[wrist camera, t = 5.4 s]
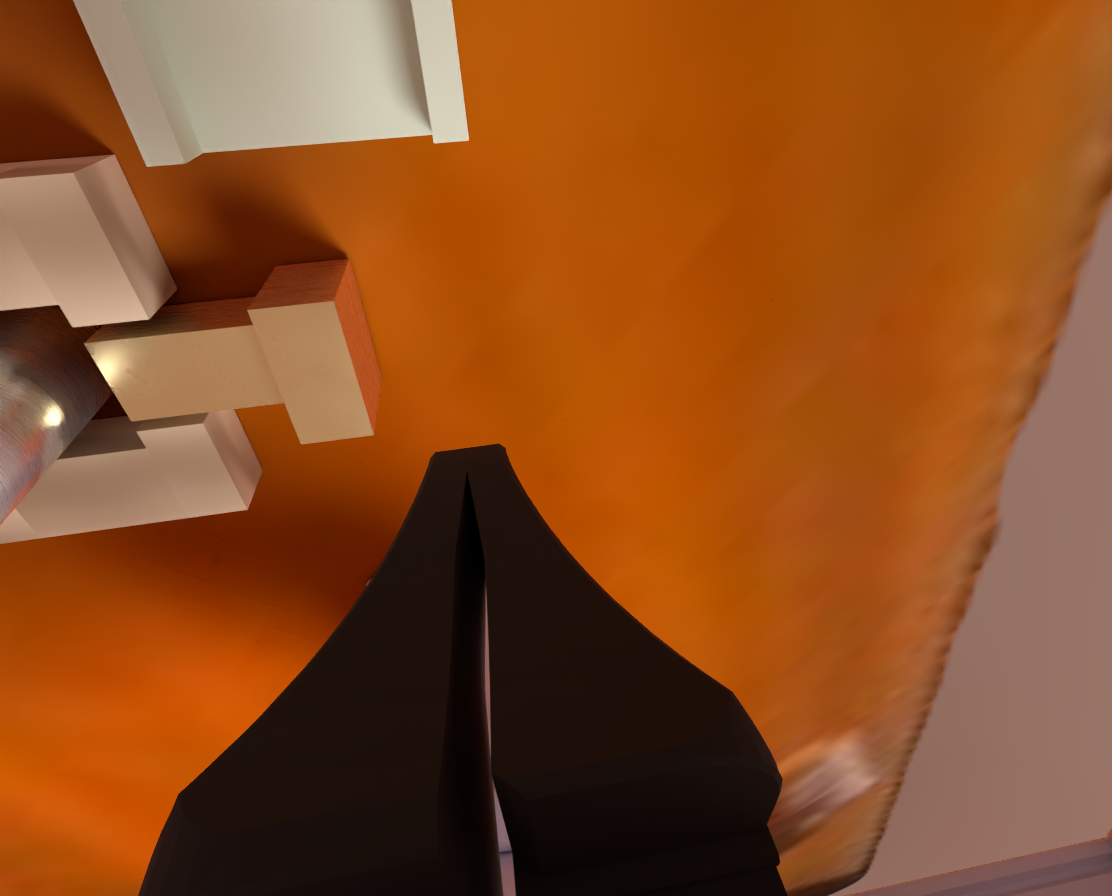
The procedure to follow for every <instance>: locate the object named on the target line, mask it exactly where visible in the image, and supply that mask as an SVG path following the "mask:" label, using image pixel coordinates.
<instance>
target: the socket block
mask: <svg viewBox="0 0 1112 896" xmlns="http://www.w3.org/2000/svg"><path fill="white" fill-rule="evenodd" d="M176 290H177V287H176V284H175V282H174V280H173V278H172V276H171V274H170V272H169V269H168V267H167V265H166V263H165V261H164V259H163V257H162V254H161V252H160V250H159V248H158V246H157V244H156V242H155V240H154V237H153V235H152V233H151V231H150V229H149V227H148V225H147V222H146V220H145V218H144V216H143V214H142V212H141V210H140V208H139V205H138V203H137V201H136V199H135V197H134V195H133V193H132V190H131V188H130V186H129V184H128V182H127V180H126V178H125V176H124V173H123V171H122V169H121V167H120V165H119V163H118V161H117V158H116V156H115V154H114V155H102V156H89V157H77V158H64V159H51V160H39V161H26V162H13V163H1V164H0V311H2V310H12V309H21V308H31V307H41V306H51V305H59V306H60V308H61V309H62V311H63V313H64V314H65V316H66V318H67V319H68V321H69V323H70V324H71V326H72V327H82V326H91V325H101V324H110V323H120V322H129V321H139V320H148V319H150V318H151V317H152V316H153V315H154V314H155V313H156V312H157V310H158V309H159V308H160V307H161V306H162V305H163V304H164V303H165V302H166V301H167V300H168V299H169V298H170V297H171V296H172V295H173V293H174V292H175V291H176ZM262 471H263V470H262V468H261V466H260V464H259V462H258V459H257V457H256V455H255V453H254V451H253V449H252V447H251V444H250V442H249V440H248V438H247V436H246V434H245V432H244V430H243V427H242V425H241V423H240V421H239V419H238V417H237V415H236V412H235V410H234V409H231V410H222V411H214V412H206V413H198V414H190V415H181V416H173V417H165V418H157V419H148V420H140V421H132V422H131V420H130V419H129V417H128V416H122V417H114V418H106V419H97V420H90V421H89V422H88V423H87V424H86V425H85V427H84V428H83V429H82V430H81V431H80V433H79V434H78V435H77V436H76V437H75V438H74V440H73V441H72V442H71V443H70V444H69V445H68V447H67V448H66V449H65V450H64V451H63V452H62V454H61V455H60V456H59V457H58V458H57V459H56V461H55V462H54V463H53V464H52V465H51V467H50V468H49V469H48V470H47V471H46V472H45V474H44V475H43V476H42V477H41V478H40V479H39V481H38V482H37V483H36V484H35V485H34V486H33V488H32V489H31V490H30V491H29V492H28V493H27V495H26V496H25V497H24V498H23V499H22V501H21V502H20V503H19V504H18V505H17V506H16V508H15V509H14V510H13V511H12V512H11V513H10V515H9V516H8V517H7V518H6V519H5V520H4V522H3V523H2V524H1V525H0V544H3V543H11V542H18V541H25V540H32V539H40V538H47V537H54V536H61V535H69V534H76V533H83V532H90V531H98V530H105V529H112V528H119V527H127V526H134V525H141V524H148V523H156V522H163V521H170V520H177V519H185V518H192V517H199V516H206V515H213V514H221V513H228V512H235V511H242V510H248V507H249V505H250V502H251V500H252V497H253V495H254V492H255V489H256V487H257V484H258V482H259V479H260V476H261V474H262Z"/></svg>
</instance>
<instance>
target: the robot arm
mask: <svg viewBox="0 0 1112 896" xmlns="http://www.w3.org/2000/svg"><path fill="white" fill-rule="evenodd" d="M781 786H782V777H781V775H780V773H779V771H778V768H777V765H776V762H775V760H774V758H773V756H772V754H771V752H770V750H769V748H768V747H767V745H766V743H765V741H764V740H763V738H762V736H761V734H760V733H759V731H758V729H757V728H756V726H755V725H754V723H753V721H752V720H751V718H750V717H749V715H748V714H747V712H746V711H745V709H744V708H743V706H742V705H741V703H740V702H739V700H738V699H737V698H736V696H735V695H734V694H733V692H732V691H730V690H729V689H728V688H726V687H725V686H723V685H722V684H720V683H719V682H717V681H716V680H714V679H713V678H712V677H710V676H709V675H707V674H706V673H704V672H703V671H701V670H700V669H699V668H697V667H696V666H695V665H693V664H692V663H690V662H689V661H688V660H686V659H685V658H684V657H682V656H681V655H679V654H678V653H677V652H676V651H674V650H673V649H672V648H671V647H669V646H668V645H667V644H665V643H664V642H663V641H662V640H660V639H659V638H658V637H657V636H655V635H654V634H653V633H651V632H650V631H649V630H648V629H647V628H646V627H645V626H643V625H642V624H641V623H640V622H639V621H638V620H637V619H636V618H634V617H633V616H632V615H631V614H630V613H629V612H628V611H626V610H625V609H624V608H623V607H622V606H621V605H620V604H619V603H617V602H616V601H615V600H614V599H613V598H612V597H611V596H610V595H609V594H608V593H607V592H606V591H605V590H604V589H603V588H602V587H601V586H600V585H599V584H598V583H597V582H596V581H595V580H594V579H593V578H592V577H591V576H590V575H589V574H588V573H587V572H586V571H585V570H584V568H583V567H582V566H581V565H580V564H579V563H578V562H577V561H576V560H575V558H574V557H573V556H572V555H571V554H570V553H569V551H568V550H567V549H566V548H565V547H564V545H563V544H562V543H561V542H560V540H559V539H558V538H557V536H556V535H555V534H554V533H553V531H552V530H551V529H550V527H549V526H548V525H547V523H546V522H545V521H544V519H543V518H542V516H541V515H540V513H539V512H538V510H537V509H536V507H535V506H534V504H533V503H532V501H531V500H530V498H529V497H528V495H527V493H526V492H525V490H524V489H523V487H522V485H521V483H520V481H519V480H518V478H517V476H516V474H515V472H514V470H513V468H512V466H511V463H510V461H509V458H508V456H507V453H506V449H505V447H503V446H502V445H500V444H493V445H486V446H479V447H471V448H464V449H457V450H449V451H442V452H435V453H434V455H433V456H432V457H431V458H430V461H429V465H428V468H427V470H426V473H425V476H424V478H423V481H422V483H421V486H420V488H419V491H418V493H417V495H416V497H415V500H414V502H413V504H412V506H411V508H410V510H409V512H408V514H407V516H406V518H405V520H404V522H403V524H402V526H401V529H400V530H399V532H398V534H397V536H396V538H395V540H394V541H393V543H392V545H391V547H390V548H389V550H388V552H387V554H386V555H385V557H384V559H383V561H382V562H381V564H380V566H379V567H378V569H377V571H376V572H375V574H374V575H373V577H372V579H370V580H369V581H368V582H367V584H366V588H365V589H364V591H363V592H362V594H361V595H360V597H359V598H358V600H357V601H356V602H355V604H354V605H353V607H352V608H351V610H350V611H349V612H348V614H347V615H346V616H345V618H344V619H343V620H342V622H341V623H340V624H339V626H338V627H337V628H336V629H335V631H334V632H333V633H332V635H331V636H330V637H329V638H328V640H327V641H326V642H325V644H324V645H323V646H322V647H321V649H320V650H319V651H318V652H317V654H316V655H315V656H314V657H313V658H312V660H311V661H310V662H309V663H308V664H307V665H306V667H305V668H304V669H303V670H302V671H301V672H300V673H299V674H298V676H297V677H296V678H295V679H294V680H293V681H292V682H291V683H290V684H289V685H288V686H287V688H286V689H285V690H284V691H283V692H282V693H281V694H280V695H279V696H278V697H277V698H276V700H275V701H274V702H273V703H272V704H271V705H270V706H269V707H268V708H267V709H266V711H265V712H264V713H263V714H262V715H261V716H260V717H259V718H258V719H257V720H256V721H255V722H254V723H253V724H252V725H251V726H250V727H249V728H248V729H247V730H246V731H245V732H244V733H243V734H242V735H241V736H240V737H239V738H238V739H237V740H236V741H235V742H234V743H233V744H232V745H230V746H229V747H228V748H227V749H226V750H225V751H224V752H223V753H222V754H221V755H220V756H219V757H218V758H217V759H216V760H215V761H214V762H213V763H212V764H211V765H209V766H208V767H207V768H206V769H205V770H204V771H203V772H202V773H201V774H200V775H199V776H198V777H197V778H196V779H195V780H194V781H193V782H191V783H190V784H189V785H188V786H187V787H186V788H185V789H184V790H182V791H181V792H180V793H179V794H178V796H177V799H176V801H175V804H174V806H173V809H172V811H171V813H170V815H169V817H168V819H167V821H166V823H165V826H164V828H163V830H162V832H161V834H160V837H159V839H158V842H157V844H156V847H155V849H154V852H153V854H152V857H151V860H150V863H149V866H148V869H147V872H146V875H145V877H144V880H143V883H142V886H141V889H140V892H139V895H138V896H788V895H787V893H786V890H785V888H784V885H783V883H782V880H781V878H780V875H779V873H778V870H777V867H776V866H778V865H779V863H780V859H779V854H778V851H777V849H776V846H775V844H774V841H773V839H772V836H771V834H770V831H769V829H768V826H767V823H768V820H769V818H770V816H771V813H772V811H773V809H774V806H775V804H776V802H777V799H778V797H779V794H780V792H781ZM846 896H1112V829H1111V830H1110V831H1109V832H1108V834H1107V837H1106V838H1101V839H1097V840H1092V841H1088V842H1083V843H1079V844H1074V845H1070V846H1066V847H1061V848H1057V849H1052V850H1048V851H1044V852H1039V853H1034V854H1030V855H1025V856H1021V857H1016V858H1012V859H1007V860H1003V861H998V862H994V863H990V864H985V865H980V866H976V867H971V868H967V869H963V870H958V871H954V872H949V873H945V874H940V875H936V876H931V877H927V878H922V879H918V880H914V881H909V882H904V883H900V884H895V885H891V886H887V887H882V888H877V889H873V890H868V891H864V892H860V893H855V894H851V895H846Z"/></svg>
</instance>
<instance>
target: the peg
mask: <svg viewBox="0 0 1112 896" xmlns="http://www.w3.org/2000/svg"><path fill="white" fill-rule="evenodd" d="M96 331H98V329H97V328H96V327H95V326H93V325H91V326H82V327H72V326H71V324H70V323H69V321H68V319H67V318H66V316H65V314H64V313H63V311H62V309H59V308H56V307H52V306H41V307H31V308H21V309H12V310H3V311H2V312H0V525H1V524H2V523H3V522H4V520H5V519H6V518H7V517H8V516H9V515H10V513H11V512H12V511H13V510H14V509H15V508H16V506H17V505H18V504H19V503H20V502H21V501H22V499H23V498H24V497H25V496H26V495H27V493H28V492H29V491H30V490H31V489H32V488H33V486H34V485H35V484H36V483H37V482H38V481H39V479H40V478H41V477H42V476H43V475H44V474H45V472H46V471H47V470H48V469H49V468H50V467H51V465H52V464H53V463H54V462H55V461H56V459H57V458H58V457H59V456H60V455H61V454H62V452H63V451H64V450H65V449H66V448H67V447H68V445H69V444H70V443H71V442H72V441H73V440H74V438H75V437H76V436H77V435H78V434H79V433H80V431H81V430H82V429H83V428H84V427H85V425H86V424H87V423H88V422H89V421H90V420H91V418H92V417H93V416H94V415H95V414H96V413H97V411H98V410H99V409H100V408H101V407H102V406H103V404H104V403H105V402H106V401H107V400H108V399H109V397H110V396H111V395H112V394H113V393H114V392H113V391H112V389H111V387H110V386H109V384H108V382H107V381H106V379H105V378H104V376H103V374H102V373H101V371H100V369H99V368H98V366H97V364H96V363H95V361H94V359H93V358H92V356H91V355H90V353H89V351H88V350H87V348H86V346H85V345H84V343H85V342H86V341H87V340H88V339H89V338H90V337H91V336H92V335H93V334H94V333H95V332H96Z"/></svg>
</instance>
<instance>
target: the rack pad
mask: <svg viewBox="0 0 1112 896" xmlns="http://www.w3.org/2000/svg"><path fill="white" fill-rule="evenodd" d="M73 1H74V4H75V6H76V8H77V10H78V13H79V15H80V17H81V19H82V22H83V24H84V26H85V28H86V31H87V33H88V35H89V38H90V40H91V42H92V44H93V47H94V49H95V51H96V53H97V56H98V58H99V60H100V62H101V65H102V67H103V69H104V71H105V74H106V76H107V78H108V80H109V83H110V85H111V87H112V89H113V92H114V94H115V96H116V98H117V101H118V103H119V105H120V108H121V110H122V112H123V114H124V117H125V119H126V121H127V123H128V126H129V128H130V130H131V132H132V135H133V137H134V139H135V141H136V144H137V146H138V148H139V150H140V153H141V155H142V157H143V159H144V162H145V164H146V166H147V167H151V166H163V165H175V164H186V163H187V162H189V161H191V160H192V159H194V158H196V157H197V156H199V155H201V154H202V153H209V152H222V151H234V150H247V149H259V148H272V147H284V146H296V145H309V144H321V143H334V142H346V141H359V140H371V139H384V138H396V137H409V136H421V135H433V142H434V143H445V142H457V141H469V137H468V129H467V121H466V113H465V105H464V97H463V89H462V81H461V73H460V65H459V57H458V49H457V41H456V33H455V25H454V17H453V9H452V1H451V0H73Z"/></svg>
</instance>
